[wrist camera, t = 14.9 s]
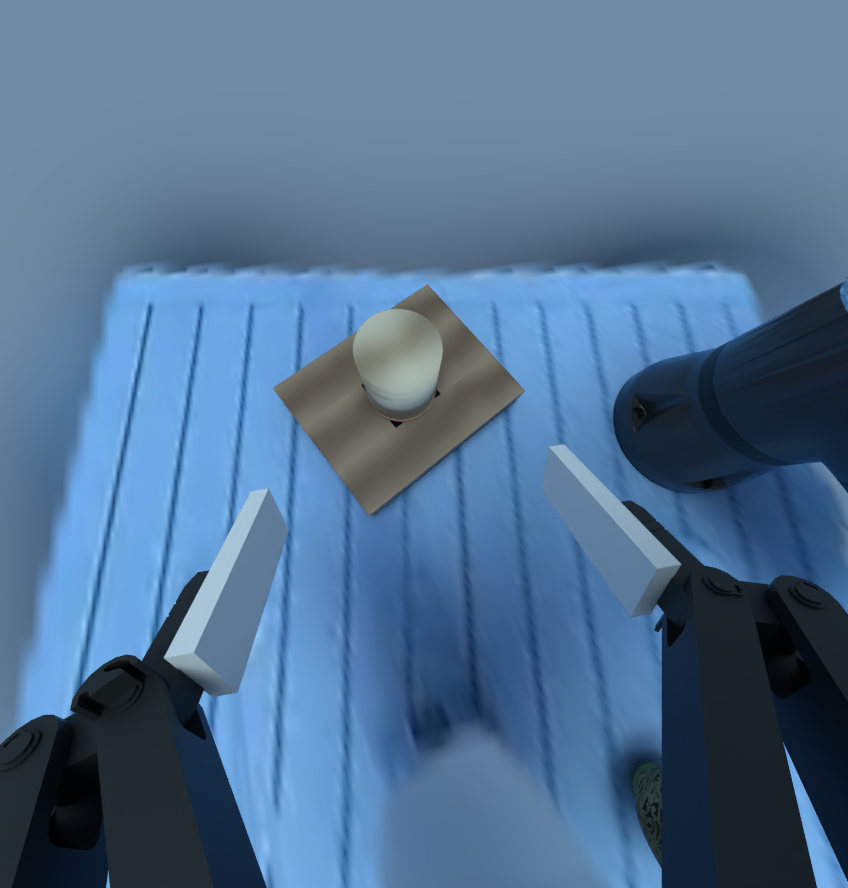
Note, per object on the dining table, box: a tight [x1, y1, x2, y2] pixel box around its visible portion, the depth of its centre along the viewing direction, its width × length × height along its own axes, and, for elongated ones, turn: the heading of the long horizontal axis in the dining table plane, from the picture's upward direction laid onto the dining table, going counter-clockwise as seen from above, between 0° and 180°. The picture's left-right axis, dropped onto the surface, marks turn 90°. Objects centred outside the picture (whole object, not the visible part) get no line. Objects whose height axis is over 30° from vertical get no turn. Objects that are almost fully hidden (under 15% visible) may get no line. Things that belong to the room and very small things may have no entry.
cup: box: [630, 760, 662, 868], centre depth 23 cm, size 8×7×8 cm
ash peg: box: [353, 309, 443, 422], centre depth 28 cm, size 7×7×11 cm
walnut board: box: [273, 284, 525, 516], centre depth 32 cm, size 16×20×4 cm
